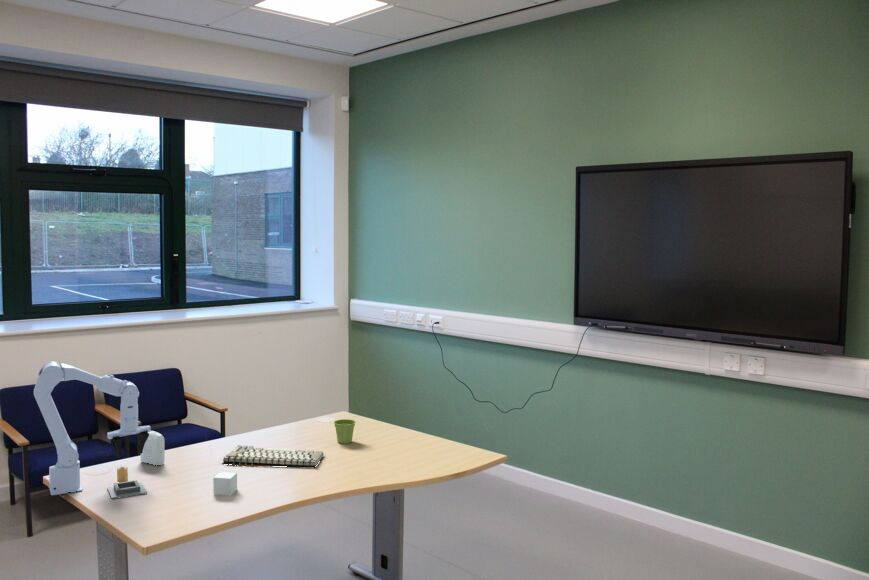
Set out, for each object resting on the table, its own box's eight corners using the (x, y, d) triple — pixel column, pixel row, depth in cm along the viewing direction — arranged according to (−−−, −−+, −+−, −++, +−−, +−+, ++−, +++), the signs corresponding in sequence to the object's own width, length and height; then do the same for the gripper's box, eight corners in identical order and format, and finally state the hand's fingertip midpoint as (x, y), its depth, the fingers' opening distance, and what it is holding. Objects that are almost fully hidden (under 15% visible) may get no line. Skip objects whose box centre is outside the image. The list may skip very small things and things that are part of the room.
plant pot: (331, 439, 312) (331, 419, 312) (353, 438, 315) (353, 418, 314) (335, 445, 304) (335, 425, 303) (357, 444, 306) (357, 424, 306)
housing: (111, 499, 240) (111, 492, 239) (107, 488, 249) (107, 482, 249) (147, 493, 245) (146, 487, 245) (141, 483, 255) (141, 477, 255)
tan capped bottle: (118, 484, 253) (117, 469, 253) (116, 481, 256) (116, 466, 256) (128, 483, 255) (128, 467, 255) (127, 480, 258) (126, 464, 258)
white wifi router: (166, 464, 276) (166, 432, 275) (157, 467, 273) (156, 434, 272) (148, 459, 281) (147, 428, 280) (138, 462, 278) (138, 430, 277)
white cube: (220, 488, 252) (220, 471, 251) (237, 489, 251) (237, 472, 251) (213, 494, 246) (213, 477, 245) (230, 495, 245) (230, 478, 245)
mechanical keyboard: (326, 455, 293) (326, 446, 292) (316, 471, 274) (316, 462, 274) (234, 452, 295) (234, 444, 294) (218, 467, 276) (218, 459, 275)
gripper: (113, 423, 247) (113, 462, 248) (154, 416, 258) (154, 453, 259) (104, 418, 252) (105, 457, 253) (145, 412, 263) (145, 449, 264)
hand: (129, 455), depth 256 cm, fingers open, 7 cm apart
